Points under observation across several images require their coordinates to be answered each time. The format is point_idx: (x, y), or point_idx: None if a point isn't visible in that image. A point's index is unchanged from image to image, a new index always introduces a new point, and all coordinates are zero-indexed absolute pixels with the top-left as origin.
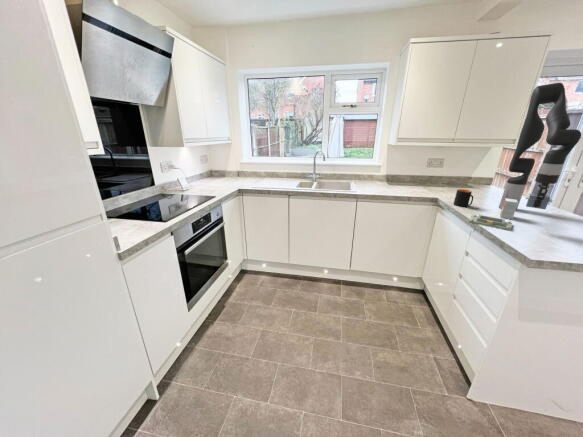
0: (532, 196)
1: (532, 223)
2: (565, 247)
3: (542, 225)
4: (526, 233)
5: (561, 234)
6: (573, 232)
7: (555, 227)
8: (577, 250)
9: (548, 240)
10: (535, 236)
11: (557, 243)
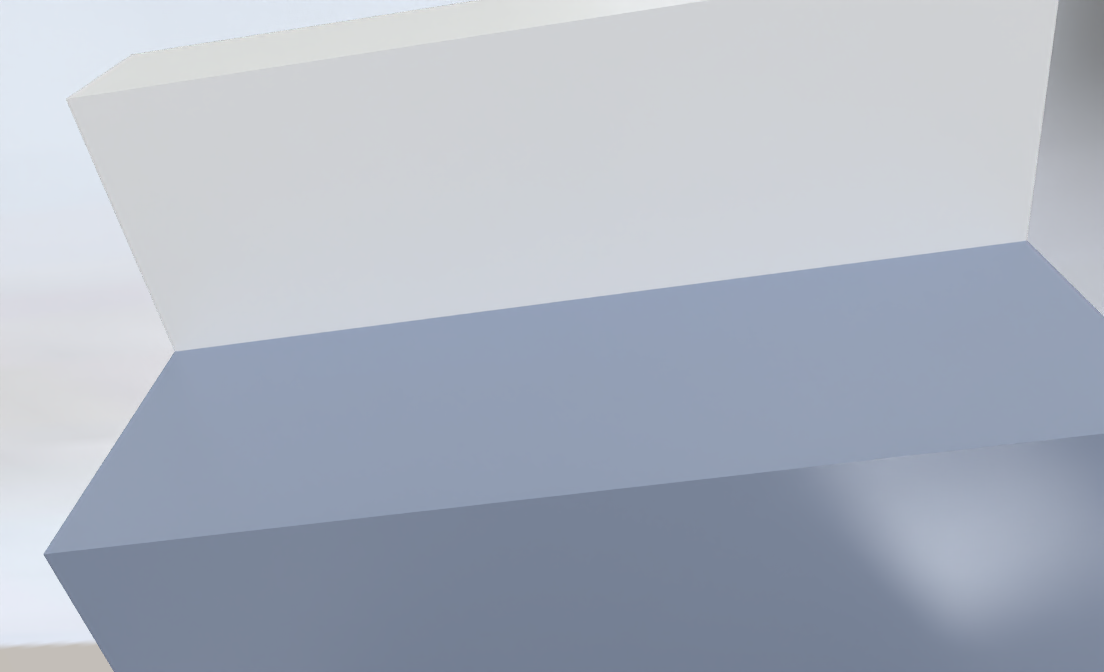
0: (178, 632)
1: (1100, 92)
2: (2, 565)
3: (1061, 250)
4: None
5: None
6: None
7: None
8: (36, 644)
9: (97, 411)
10: (105, 257)
11: (80, 496)
